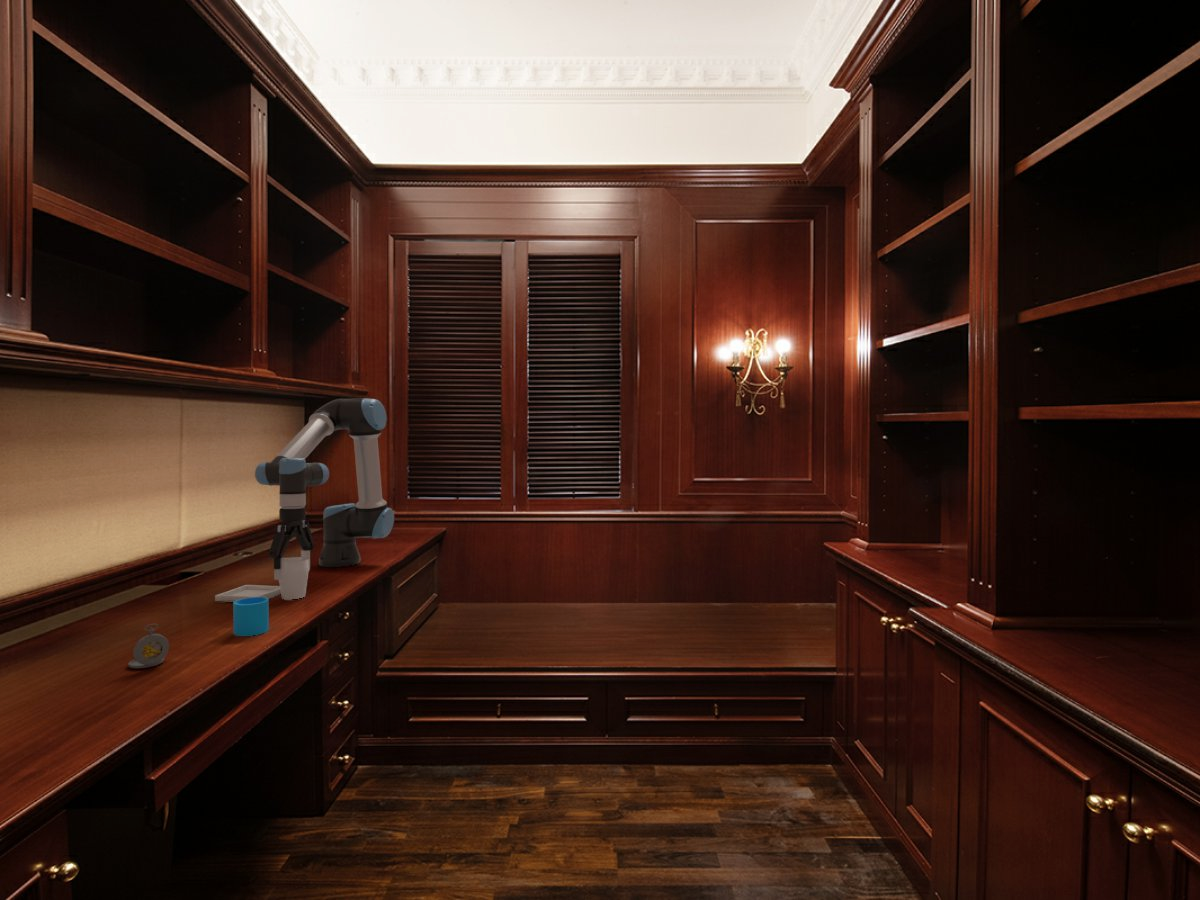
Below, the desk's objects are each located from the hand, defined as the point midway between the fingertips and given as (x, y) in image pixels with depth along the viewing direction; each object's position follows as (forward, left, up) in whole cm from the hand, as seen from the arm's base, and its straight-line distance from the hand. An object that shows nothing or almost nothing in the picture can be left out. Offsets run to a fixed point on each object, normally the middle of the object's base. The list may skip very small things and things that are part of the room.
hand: (292, 575), depth 206 cm
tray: (+2, -13, -7) cm, 15 cm away
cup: (0, 0, -7) cm, 7 cm away
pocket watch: (+60, +4, -7) cm, 60 cm away
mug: (+32, +10, -7) cm, 34 cm away
